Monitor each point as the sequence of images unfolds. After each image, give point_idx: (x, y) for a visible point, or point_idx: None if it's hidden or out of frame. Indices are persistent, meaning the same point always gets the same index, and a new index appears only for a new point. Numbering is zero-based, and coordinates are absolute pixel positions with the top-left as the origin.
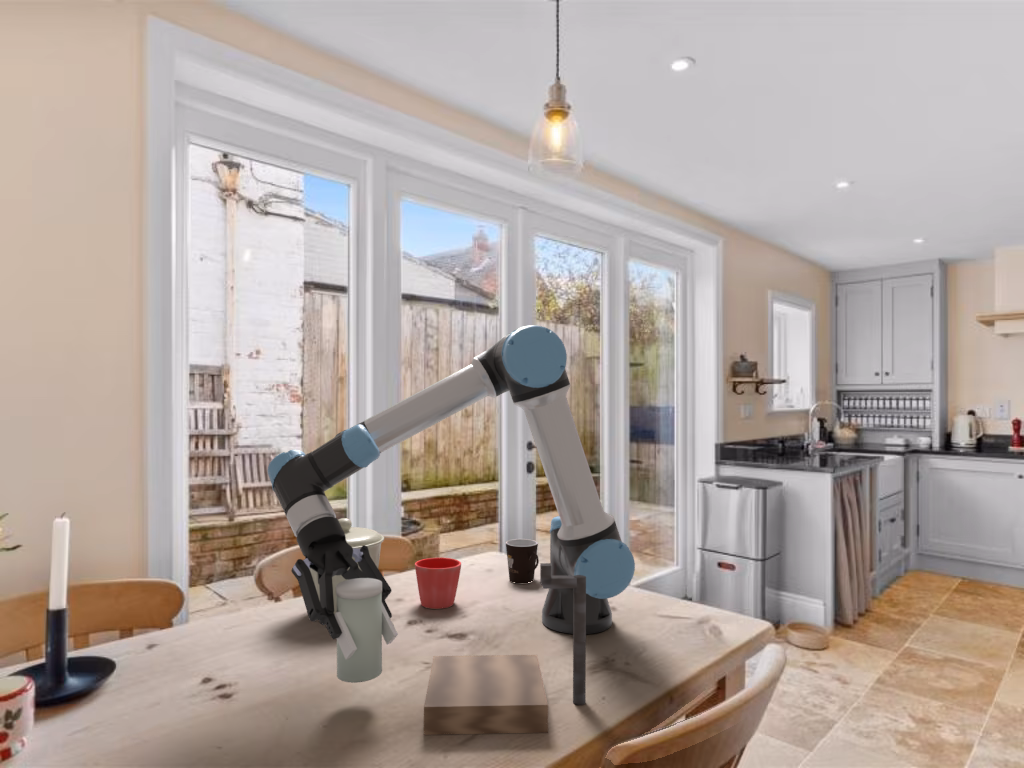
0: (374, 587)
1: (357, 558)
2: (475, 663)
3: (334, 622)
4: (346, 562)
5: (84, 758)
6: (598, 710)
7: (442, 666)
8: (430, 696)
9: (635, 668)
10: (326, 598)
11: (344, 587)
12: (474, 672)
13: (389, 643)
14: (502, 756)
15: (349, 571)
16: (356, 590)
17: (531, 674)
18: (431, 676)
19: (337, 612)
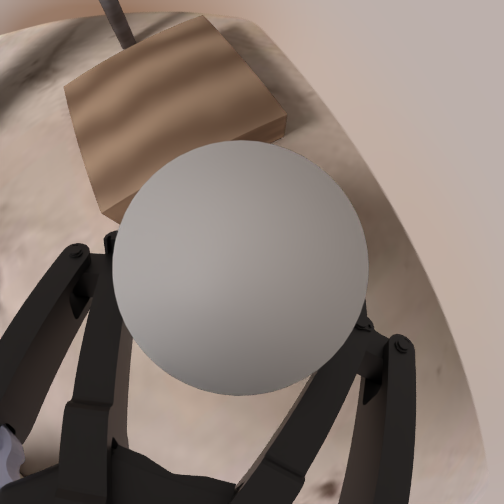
0: (246, 152)
1: (16, 447)
2: (108, 132)
3: None
4: (110, 468)
5: (484, 458)
6: (141, 27)
7: (135, 170)
8: (251, 122)
9: (45, 51)
10: (356, 369)
11: (321, 303)
12: (140, 114)
13: None
14: (275, 51)
15: (118, 432)
16: (333, 203)
17: (125, 58)
18: None
19: None
